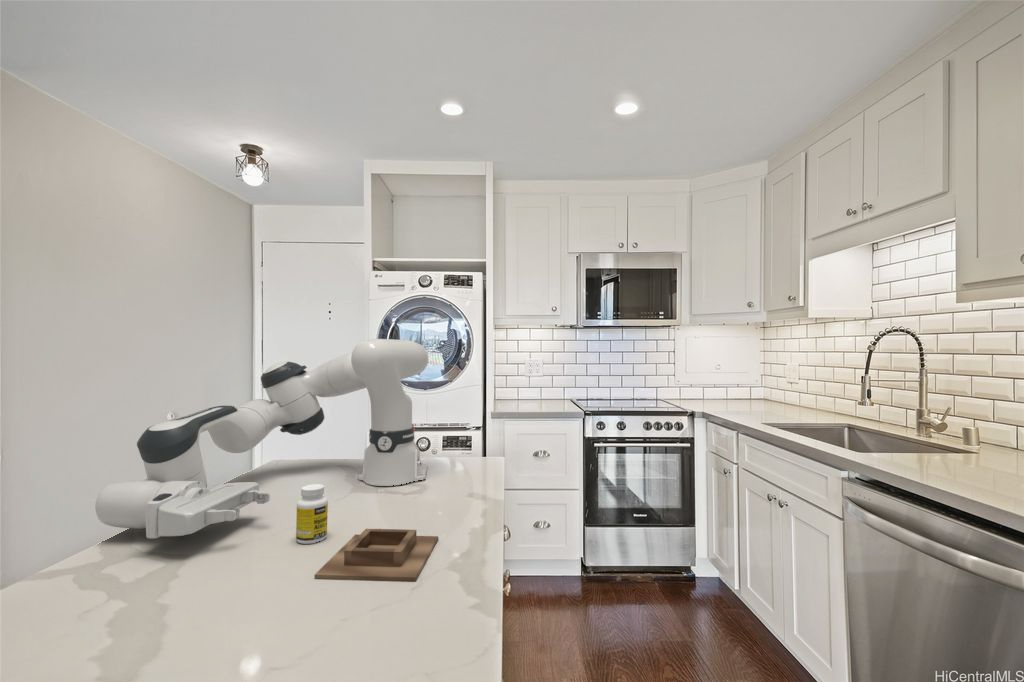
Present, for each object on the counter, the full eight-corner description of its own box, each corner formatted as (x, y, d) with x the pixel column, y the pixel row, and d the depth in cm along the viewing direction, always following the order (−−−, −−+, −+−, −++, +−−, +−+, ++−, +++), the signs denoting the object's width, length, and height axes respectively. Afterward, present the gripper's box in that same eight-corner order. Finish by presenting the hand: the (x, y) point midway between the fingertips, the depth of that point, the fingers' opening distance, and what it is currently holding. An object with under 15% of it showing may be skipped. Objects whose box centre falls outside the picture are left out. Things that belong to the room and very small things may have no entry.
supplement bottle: (315, 546, 84) (316, 491, 85) (289, 543, 85) (290, 490, 86) (333, 534, 90) (333, 483, 90) (308, 532, 91) (308, 482, 91)
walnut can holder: (355, 537, 88) (355, 521, 88) (438, 539, 87) (438, 523, 87) (314, 578, 72) (314, 559, 72) (415, 581, 71) (415, 561, 71)
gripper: (221, 503, 99) (283, 504, 99) (138, 542, 79) (216, 544, 78) (221, 474, 100) (283, 475, 99) (139, 505, 79) (216, 506, 78)
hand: (253, 506), depth 88 cm, fingers open, 8 cm apart
